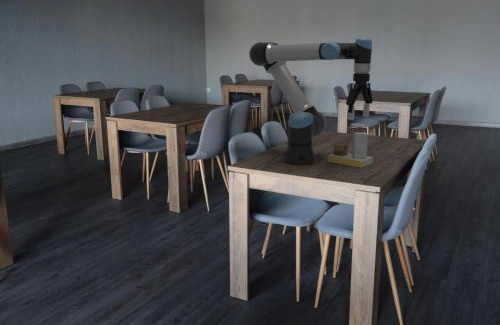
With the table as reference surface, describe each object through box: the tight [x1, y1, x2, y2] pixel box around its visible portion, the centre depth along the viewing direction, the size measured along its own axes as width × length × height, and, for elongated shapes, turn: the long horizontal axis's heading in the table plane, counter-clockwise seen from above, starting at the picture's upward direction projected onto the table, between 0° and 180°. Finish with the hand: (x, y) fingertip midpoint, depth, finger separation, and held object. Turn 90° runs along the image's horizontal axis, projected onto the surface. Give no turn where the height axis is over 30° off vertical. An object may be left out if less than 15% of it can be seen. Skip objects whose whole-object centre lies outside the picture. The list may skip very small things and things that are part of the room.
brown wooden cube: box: [332, 143, 349, 156], centre depth 226 cm, size 5×5×5 cm
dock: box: [327, 152, 374, 168], centre depth 223 cm, size 12×18×3 cm, turn 49°
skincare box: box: [351, 132, 369, 159], centre depth 218 cm, size 6×4×12 cm
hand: (358, 118), depth 219 cm, fingers open, 13 cm apart
